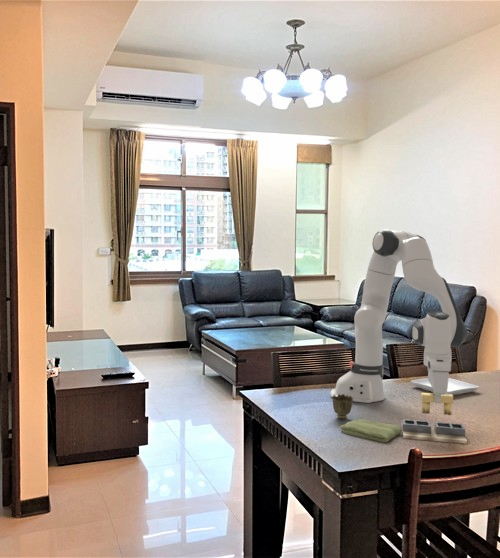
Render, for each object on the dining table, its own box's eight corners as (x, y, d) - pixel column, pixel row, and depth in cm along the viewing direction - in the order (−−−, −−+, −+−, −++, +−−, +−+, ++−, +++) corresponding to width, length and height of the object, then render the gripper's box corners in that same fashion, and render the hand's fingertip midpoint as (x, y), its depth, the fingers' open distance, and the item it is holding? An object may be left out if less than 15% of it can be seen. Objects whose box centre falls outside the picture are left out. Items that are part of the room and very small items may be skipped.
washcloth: (355, 423, 203) (355, 414, 203) (402, 434, 193) (402, 425, 193) (338, 433, 193) (338, 424, 193) (386, 445, 182) (386, 435, 182)
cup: (339, 422, 203) (340, 400, 202) (327, 416, 209) (328, 395, 209) (356, 419, 206) (357, 398, 206) (344, 414, 213) (344, 393, 212)
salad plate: (441, 382, 264) (441, 374, 264) (480, 393, 246) (480, 385, 246) (408, 387, 253) (409, 380, 253) (447, 400, 235) (447, 391, 235)
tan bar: (421, 413, 192) (422, 394, 191) (420, 411, 194) (421, 392, 194) (452, 415, 190) (453, 396, 189) (451, 412, 192) (451, 394, 192)
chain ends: (402, 431, 192) (403, 424, 192) (401, 426, 197) (402, 419, 197) (465, 436, 188) (465, 429, 188) (462, 431, 193) (462, 424, 193)
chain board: (403, 438, 188) (403, 435, 188) (401, 425, 201) (401, 422, 201) (466, 443, 184) (466, 440, 184) (460, 430, 197) (460, 427, 197)
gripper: (424, 353, 201) (423, 392, 202) (431, 366, 181) (430, 408, 182) (442, 354, 200) (441, 393, 201) (451, 367, 180) (450, 410, 181)
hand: (436, 400), depth 192 cm, fingers closed on tan bar, 3 cm apart
